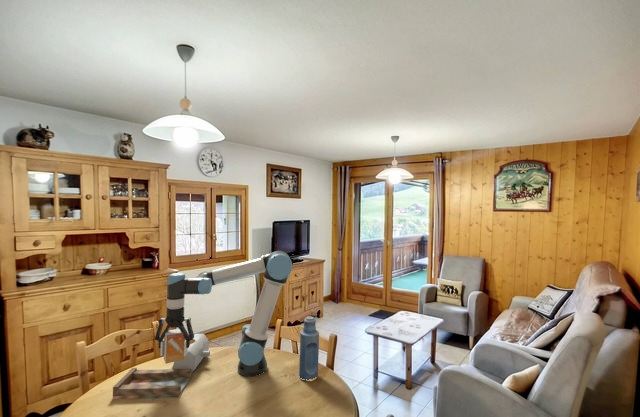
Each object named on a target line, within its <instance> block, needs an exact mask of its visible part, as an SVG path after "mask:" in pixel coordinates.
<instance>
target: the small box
mask: <svg viewBox="0 0 640 417" xmlns="http://www.w3.org/2000/svg"><path fill="white" fill-rule="evenodd" d="M163 340H164V355H163V360H164V363H165V364H166V365H167V364H171V363H174V362H176V361H181V360H184V342H185V338H184V336H183V333H182V332H181V331H180V329H179V328H177V329H169V330H168V331H167V332H166V333H165V336H164V339H163Z"/></svg>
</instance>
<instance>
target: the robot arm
mask: <svg viewBox="0 0 640 417" xmlns="http://www.w3.org/2000/svg"><path fill="white" fill-rule="evenodd" d="M292 270H293V261H292V260H291V257H290V255H289V254H288V253H287V252H286V251H284V250H276V251H275V250H274V251H273V252H270V253H267V254H264V255H261V256H260V257H259V258H256V259H252V260H248V261H244V262H240V263H236V264H233V265H229V266H225V267H221V268H217V269H213V270H208V271H203V272H200V273H199V274H198V275H197V276H196V277H187V276H186V274H185V273H183V272H182V273H181V272H173V273H170V274H168V276H167V283H166V288H167V289H166V291H167V293H166V296H167V297H166V307H167V308H166V317H161V318H159V320H158V327H157V329H156V332H155V336H154V341H157V342H158V348H159V349H160V351H159V352H160V353H159V354H160V357H164V336H165V333H166V332H167V331H169V330H170V328H177V329H180V331H181V332H182V333H183V336H184V338H185V342H184V356H186V355H187V351H188V348H189V346H190V344H191V341H193V340H192V339H193V338H194V335H195V333H194V330H193V327H192V318H191V317H188V318H187V317H185V295H203V296H204V295H208V294H210V293H211V292H212V287H213V286H216V285H219V284H223V283H228V282H231V281H235V280H239V279H242V278H246V277H250V276H254V275H258V274H262V273H263V276H262V277H263V279H264V282H263V286H262V288H261V292H260V294H259V298H258V301H257V304H256V306H255V310H254V312H253V314H252V318H251V320H250V321H251V322H250V323H248V324H244V325H243V326H242V329H241V339H240V343H239V348H238V349H237V350H238V351H237V354H238V355H237V356H238V359H239V361H238V365H237V373H238V374H240V375H242V376H243V377H256V375H257V376H260V375H262V373H263V372H264V373H265V372H267V370H268V363H267V362H268V361H267V358H266V356H265V348H266V344H267V342H268V339H269V335H268V334H267V331H268V328H269V326H270V323H271V319H272V316H273V314H274V310H275V307H276V305H277V302H278V299H279V295H280V293H281V291H282V290H281V289H282V287H283V286H285V285H286V284H287V281H288V278H289V276H290V274H291V273H292ZM165 322H166V324H167V325H166V327H165V329H164V331H163V332H162V329H163V327H164V323H165ZM184 322H185V324H186V328H185V325H184ZM186 329H187V330H186ZM161 332H162V333H161ZM266 369H267V370H266ZM264 373H263V374H264ZM259 374H260V375H259Z"/></svg>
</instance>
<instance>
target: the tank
mask: <svg viewBox="0 0 640 417" xmlns="http://www.w3.org/2000/svg"><path fill="white" fill-rule="evenodd" d="M191 341H192V343H190V346H189V348H188V351H187V355H186V356H184V360H181V361H176V362H173V365H172V367H171V369H192V370H191V374H193V372H194V371H195V370H196V368H197V367H198V366H199V365H200V363H201V362H202V360H203V359H204V357H210V355H211V351H210V350H209V347H210V344H209V343H210V340H209V339H208V337H207V336H206V334H204V333H194V338H193V339H192V340H191Z"/></svg>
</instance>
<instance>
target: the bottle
mask: <svg viewBox="0 0 640 417" xmlns="http://www.w3.org/2000/svg"><path fill="white" fill-rule="evenodd" d="M316 323H317V321H316V318H315V317H314V316H310V315H309V316H306V317H305V318H304V319H303V326H302V329H301V330H300V331H299V339H300V340H299V362H298V364H299V368H298V369H299V371H298V377H299V376H300V378H302V379H305V380H306V379H307V380H309V379H313V378H315V377H317V376H319V352H320V351H319V350H320V346H319V345H320V331H319V330H318V329H317V326H316ZM300 378H299V379H300Z"/></svg>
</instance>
